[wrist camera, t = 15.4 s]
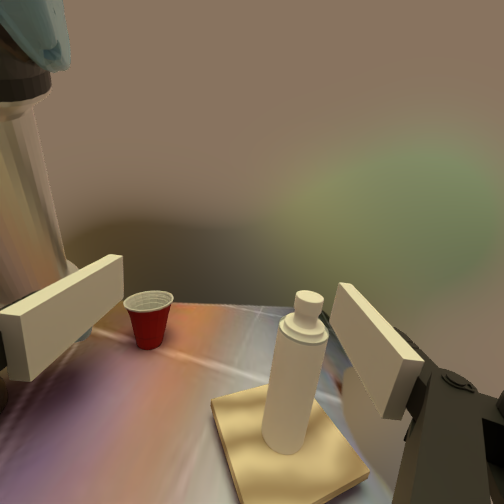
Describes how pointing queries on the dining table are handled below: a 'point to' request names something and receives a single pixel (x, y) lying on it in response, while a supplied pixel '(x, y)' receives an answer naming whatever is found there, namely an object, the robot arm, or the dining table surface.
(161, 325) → the plastic cup
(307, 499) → the stand
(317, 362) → the spray bottle
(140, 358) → the dining table surface
